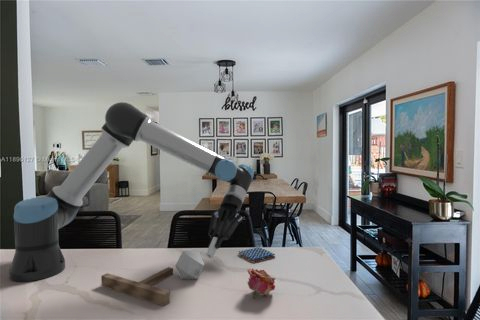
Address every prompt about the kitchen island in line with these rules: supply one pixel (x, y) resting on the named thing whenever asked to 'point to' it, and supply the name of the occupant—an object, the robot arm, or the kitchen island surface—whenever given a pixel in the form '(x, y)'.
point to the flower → (260, 282)
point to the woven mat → (256, 254)
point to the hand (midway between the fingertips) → (209, 256)
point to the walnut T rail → (141, 286)
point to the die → (190, 265)
